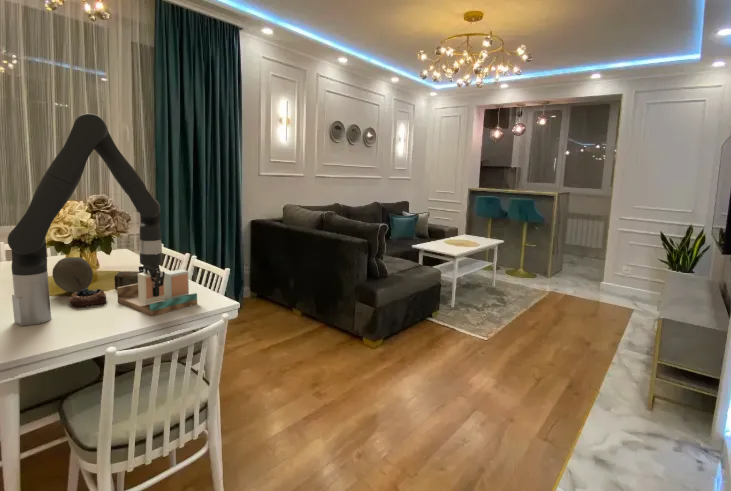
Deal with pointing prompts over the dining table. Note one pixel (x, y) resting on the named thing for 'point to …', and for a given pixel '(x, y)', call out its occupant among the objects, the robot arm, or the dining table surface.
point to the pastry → (88, 298)
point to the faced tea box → (176, 284)
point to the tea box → (149, 289)
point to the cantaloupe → (72, 274)
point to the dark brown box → (126, 278)
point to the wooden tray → (131, 299)
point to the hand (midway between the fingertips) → (152, 294)
